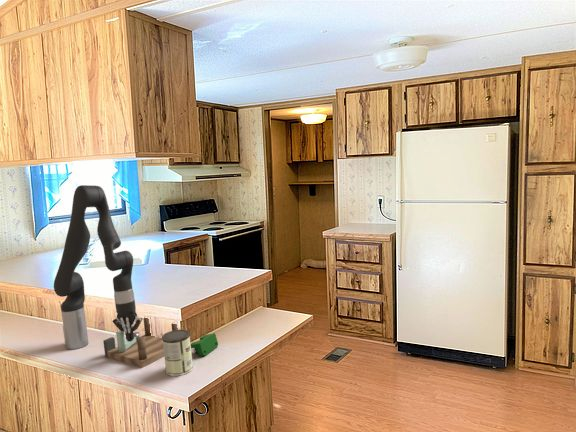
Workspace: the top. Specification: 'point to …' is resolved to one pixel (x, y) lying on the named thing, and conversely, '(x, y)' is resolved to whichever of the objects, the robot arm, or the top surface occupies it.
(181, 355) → the coffee can
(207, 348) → the clamp
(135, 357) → the stool seat
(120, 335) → the swing leg
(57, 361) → the top surface
